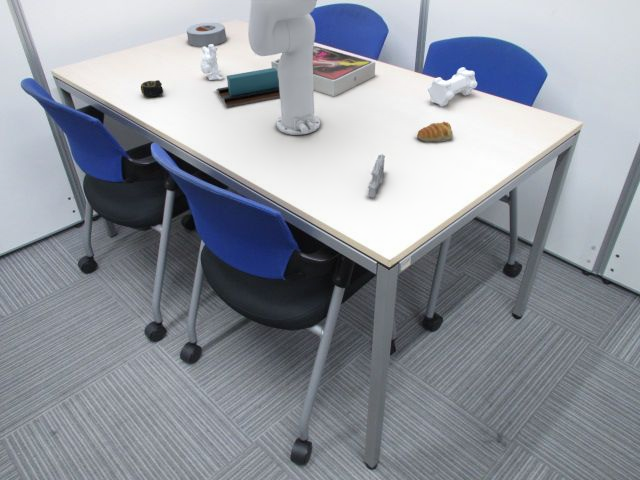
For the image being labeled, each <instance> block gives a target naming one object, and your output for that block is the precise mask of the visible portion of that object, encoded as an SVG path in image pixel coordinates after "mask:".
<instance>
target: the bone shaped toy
mask: <svg viewBox="0 0 640 480" xmlns="http://www.w3.org/2000/svg"><path fill="white" fill-rule="evenodd" d="M475 75H476V73H475V71H474V70H468V69H466V67H463V66H462V67H460V68H458V69H457V70H456V74H453V75H452V76H451V78H450V79H447V80H444V79H443V78H442V77H440V76H438V77H436V78H434V80H433V81H432V84H430V85H428V87H427V92H428V94H429V96H430V102H431V103H433V104H438V105H439V107H445V106H447V105H448V103H449V101H450V100H452V99H453V98H454V97H455V95H456V94H459V93H460V94H462V95H463V96H464V97H465V96H468V95H470V94H471V93H472V90H474V89H476V88H477V86H478V81H476V76H475Z"/></svg>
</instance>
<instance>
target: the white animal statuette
mask: <svg viewBox="0 0 640 480" xmlns="http://www.w3.org/2000/svg"><path fill="white" fill-rule="evenodd" d="M218 48H219V47H218V46H216V45H213V44H210V45H208V46H207V47H201V52H202V53H203V56H202V57H201V61H200V63H199V64H200V70H201V72H202V73H203V74H207V76H206V77H207V78H208V80H209V81H213V80H215V81H216V80H219V81H220V80H221V81H222V80H223V77H222V76H220V73H221V69H219V64H218V57H217V50H219V49H218Z"/></svg>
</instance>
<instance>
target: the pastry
mask: <svg viewBox="0 0 640 480" xmlns="http://www.w3.org/2000/svg"><path fill="white" fill-rule="evenodd" d="M453 136H454V133H453V129H452V126H451V124H450V123H449V122H447V121H442V122H436V123H434V122H433V123H430V124H429V125H427V126H424V127H422V128H421V129H419V130H418V131H417V135H416V138H417V139H419V140H421V141H423V142H425V143H426V142H427V143H430V142H431V143H436V142H439V143H440V142H443V141H444V142H447V141H448V142H449V141H450V140H451V139H452V138H453Z"/></svg>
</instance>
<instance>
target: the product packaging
mask: <svg viewBox="0 0 640 480" xmlns="http://www.w3.org/2000/svg"><path fill="white" fill-rule="evenodd" d="M279 60H280V58H277V59H275V60H272V61H271V62H270V63H271V65H270V66H271V68H275V69H276V70H277V73H278V64H279ZM374 77H376V61H374V60H370V59H366V58H364V57H363V58H362V57H359V56H355V55H351V54H348V53H343V52H340V51H338V50H333V49H329V48H326V47H323V46H318V45H315V44H314V47H313V90H314V91H315V92H319V93H322V94H325V95H328V96H331V97H336V96H338V95H340V94H342V93H344V92H346V91H348V90H351V89H353V88H354V87H356V86H358V85H361V84H362V83H364V82H367V81H368V80H370V79H373V78H374Z"/></svg>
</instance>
